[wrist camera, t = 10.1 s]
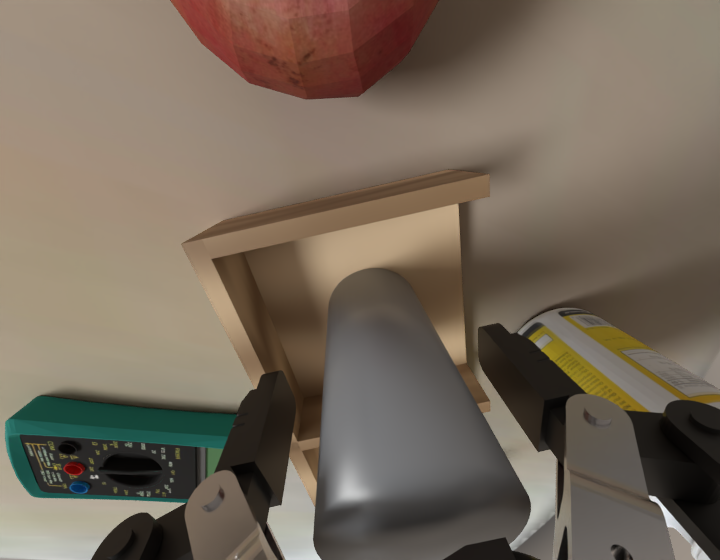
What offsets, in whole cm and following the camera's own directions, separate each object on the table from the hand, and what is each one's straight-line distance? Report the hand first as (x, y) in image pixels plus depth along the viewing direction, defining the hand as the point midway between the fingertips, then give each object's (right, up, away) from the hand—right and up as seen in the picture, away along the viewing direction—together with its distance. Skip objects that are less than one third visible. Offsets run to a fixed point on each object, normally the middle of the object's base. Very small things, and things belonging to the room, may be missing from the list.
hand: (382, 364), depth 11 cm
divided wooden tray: (0, -3, +8) cm, 8 cm away
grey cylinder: (0, +2, +4) cm, 5 cm away
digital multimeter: (-16, -8, +9) cm, 20 cm away
